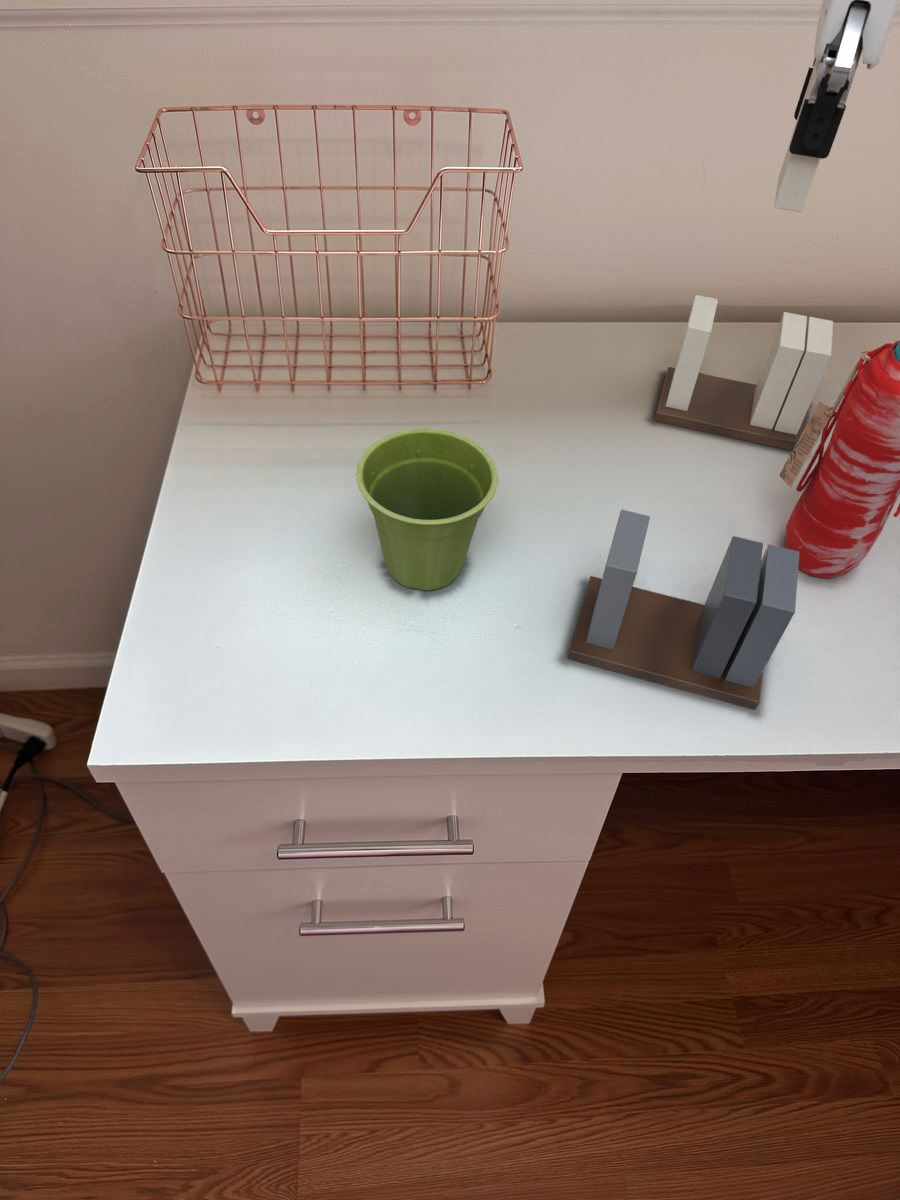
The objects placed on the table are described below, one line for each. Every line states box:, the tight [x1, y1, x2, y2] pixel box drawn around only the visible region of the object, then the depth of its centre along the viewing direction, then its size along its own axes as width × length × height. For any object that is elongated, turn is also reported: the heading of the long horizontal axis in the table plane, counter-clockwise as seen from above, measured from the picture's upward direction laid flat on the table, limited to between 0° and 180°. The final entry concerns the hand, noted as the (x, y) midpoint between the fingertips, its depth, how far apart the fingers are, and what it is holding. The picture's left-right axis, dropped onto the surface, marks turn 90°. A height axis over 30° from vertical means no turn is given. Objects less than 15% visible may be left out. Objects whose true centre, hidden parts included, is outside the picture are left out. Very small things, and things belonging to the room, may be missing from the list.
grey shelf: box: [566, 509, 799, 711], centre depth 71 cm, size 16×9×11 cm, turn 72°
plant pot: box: [355, 427, 499, 591], centre depth 76 cm, size 12×12×11 cm
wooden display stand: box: [653, 294, 834, 452], centre depth 92 cm, size 16×9×11 cm, turn 72°
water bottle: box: [778, 339, 900, 579], centre depth 73 cm, size 12×8×25 cm, turn 33°
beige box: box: [773, 59, 831, 213], centre depth 74 cm, size 2×6×10 cm, turn 162°
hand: (810, 135), depth 74 cm, fingers closed on beige box, 6 cm apart
